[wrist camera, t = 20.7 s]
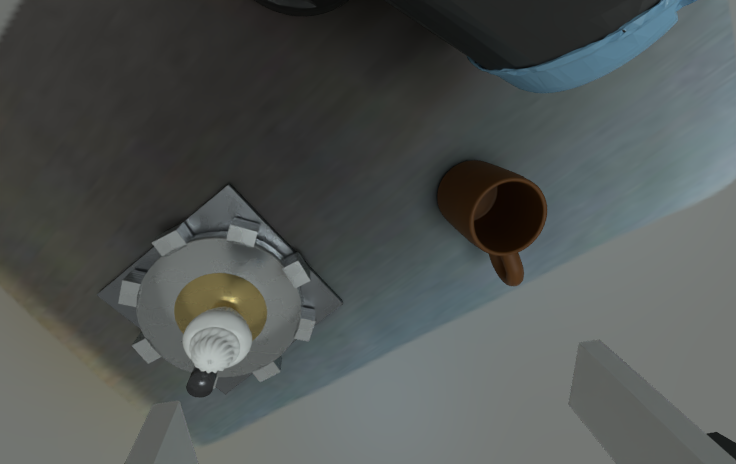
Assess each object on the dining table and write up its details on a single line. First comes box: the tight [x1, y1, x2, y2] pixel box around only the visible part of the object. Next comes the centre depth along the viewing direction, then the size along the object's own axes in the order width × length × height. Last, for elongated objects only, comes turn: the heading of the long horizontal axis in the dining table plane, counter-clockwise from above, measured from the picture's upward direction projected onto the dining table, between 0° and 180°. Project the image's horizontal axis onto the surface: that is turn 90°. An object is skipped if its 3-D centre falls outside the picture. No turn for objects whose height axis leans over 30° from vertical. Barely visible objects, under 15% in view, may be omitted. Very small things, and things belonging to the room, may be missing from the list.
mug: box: [437, 160, 547, 286], centre depth 40 cm, size 12×8×9 cm, turn 18°
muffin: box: [183, 306, 252, 373], centre depth 37 cm, size 6×6×7 cm
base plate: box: [97, 183, 343, 395], centre depth 42 cm, size 18×18×1 cm
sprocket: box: [118, 217, 315, 397], centre depth 39 cm, size 19×19×6 cm
